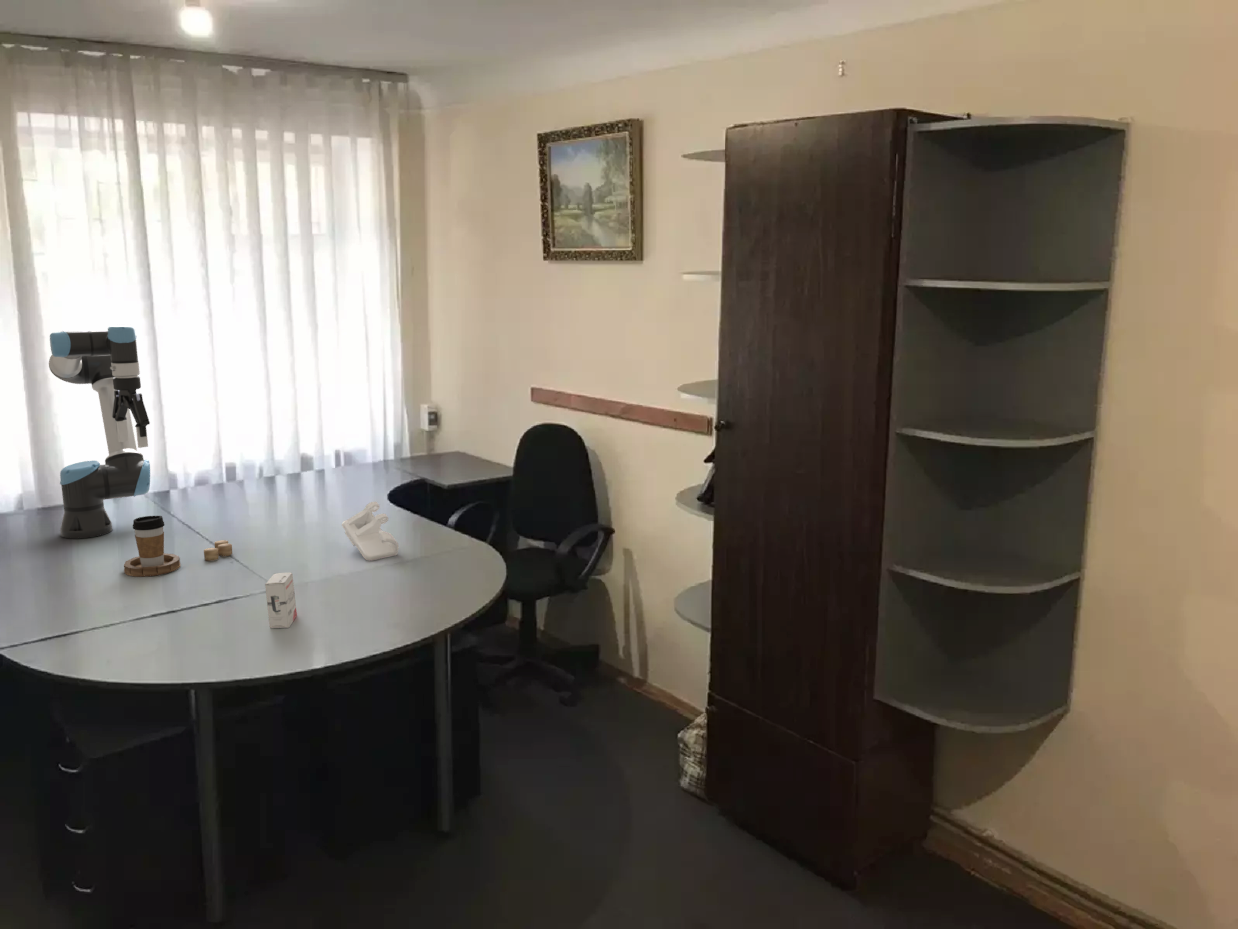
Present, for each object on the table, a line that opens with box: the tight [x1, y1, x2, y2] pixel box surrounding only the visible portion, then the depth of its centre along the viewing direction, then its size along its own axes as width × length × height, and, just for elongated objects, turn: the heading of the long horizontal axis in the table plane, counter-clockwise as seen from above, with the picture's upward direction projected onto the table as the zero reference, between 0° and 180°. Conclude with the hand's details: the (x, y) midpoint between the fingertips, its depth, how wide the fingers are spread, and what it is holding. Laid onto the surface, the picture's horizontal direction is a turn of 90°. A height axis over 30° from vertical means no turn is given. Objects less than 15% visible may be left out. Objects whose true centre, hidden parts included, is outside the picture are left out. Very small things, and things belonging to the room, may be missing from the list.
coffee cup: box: [132, 515, 165, 567], centre depth 282 cm, size 8×8×15 cm
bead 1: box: [203, 547, 220, 562], centre depth 293 cm, size 4×4×3 cm
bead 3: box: [218, 543, 233, 557], centre depth 297 cm, size 4×4×3 cm
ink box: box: [264, 572, 298, 629], centre depth 242 cm, size 9×5×12 cm, turn 5°
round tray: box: [123, 552, 182, 578], centre depth 283 cm, size 15×15×2 cm
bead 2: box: [214, 539, 229, 548], centre depth 300 cm, size 4×4×3 cm
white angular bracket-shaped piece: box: [341, 501, 400, 562], centre depth 300 cm, size 20×11×13 cm, turn 42°
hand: (133, 444), depth 300 cm, fingers open, 13 cm apart
